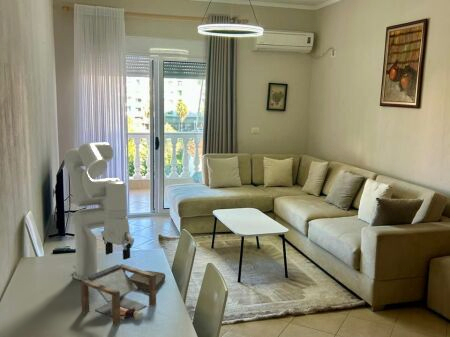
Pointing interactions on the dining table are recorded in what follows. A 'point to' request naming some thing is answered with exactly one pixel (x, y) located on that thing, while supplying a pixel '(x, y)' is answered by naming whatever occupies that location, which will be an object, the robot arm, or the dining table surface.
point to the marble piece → (147, 281)
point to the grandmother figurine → (130, 313)
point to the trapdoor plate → (113, 282)
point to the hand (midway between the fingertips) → (117, 256)
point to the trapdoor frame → (117, 295)
